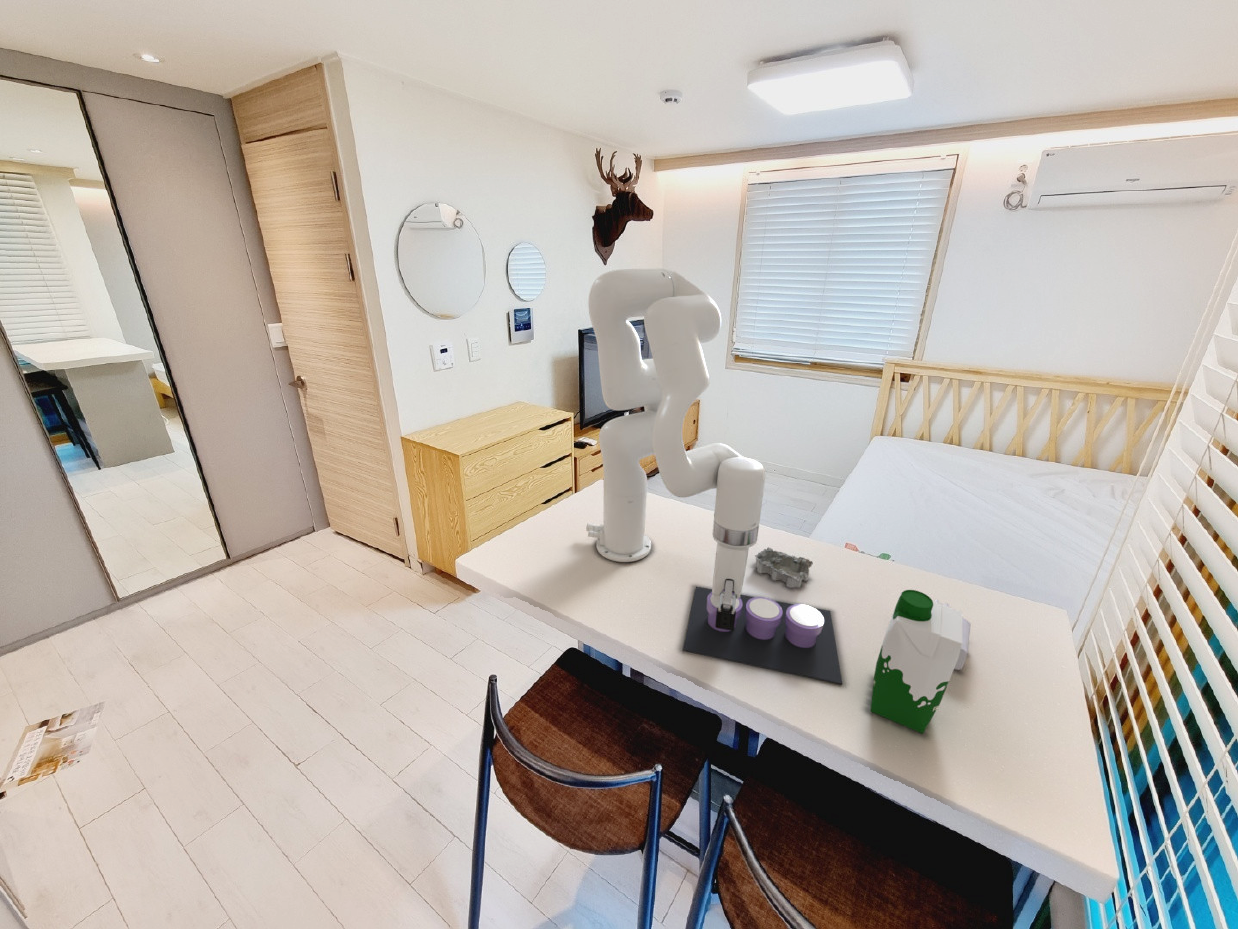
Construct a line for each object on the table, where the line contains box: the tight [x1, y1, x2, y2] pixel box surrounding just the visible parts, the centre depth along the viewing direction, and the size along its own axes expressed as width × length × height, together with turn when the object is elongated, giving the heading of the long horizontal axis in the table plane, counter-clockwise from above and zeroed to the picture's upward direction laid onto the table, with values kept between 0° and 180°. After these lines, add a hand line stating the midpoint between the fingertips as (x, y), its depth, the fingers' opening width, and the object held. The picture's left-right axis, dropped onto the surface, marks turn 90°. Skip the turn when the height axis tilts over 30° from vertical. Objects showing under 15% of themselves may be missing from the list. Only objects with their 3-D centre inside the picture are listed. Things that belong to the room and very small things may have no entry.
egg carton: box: [754, 546, 814, 588], centre depth 107 cm, size 11×8×4 cm
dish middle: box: [745, 596, 783, 640], centre depth 91 cm, size 6×6×5 cm
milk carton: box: [870, 589, 963, 735], centre depth 74 cm, size 9×9×20 cm
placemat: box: [682, 586, 843, 685], centre depth 92 cm, size 26×18×1 cm
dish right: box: [785, 603, 824, 648], centre depth 90 cm, size 6×6×5 cm
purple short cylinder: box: [706, 590, 743, 632], centre depth 93 cm, size 6×6×5 cm
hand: (726, 610), depth 92 cm, fingers open, 9 cm apart
